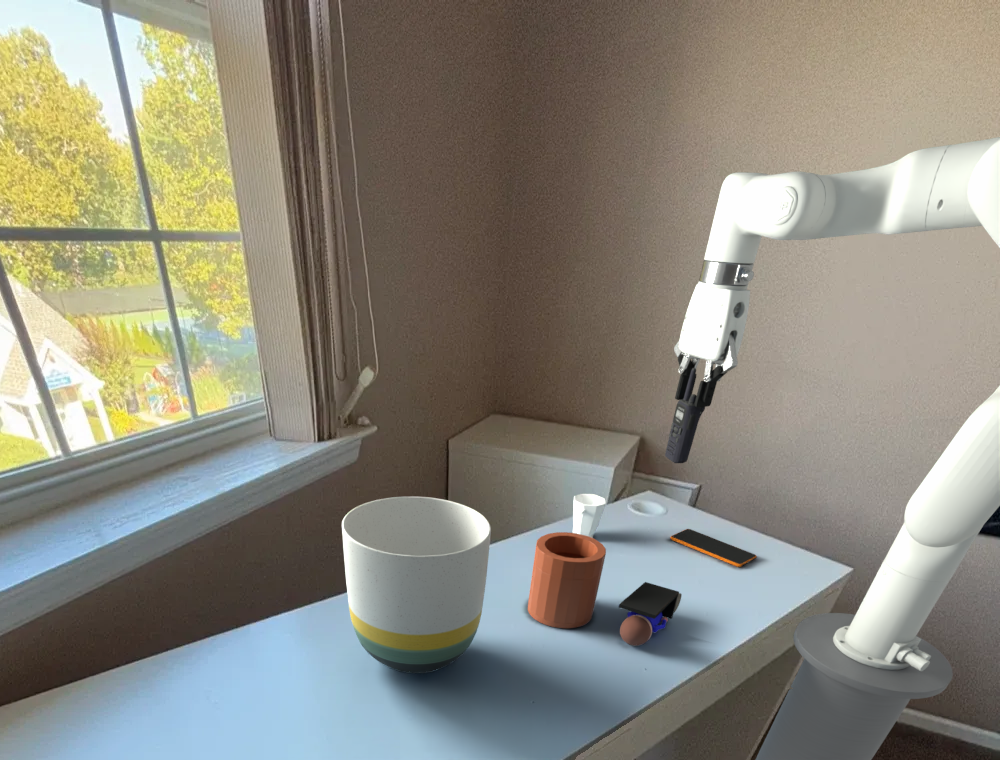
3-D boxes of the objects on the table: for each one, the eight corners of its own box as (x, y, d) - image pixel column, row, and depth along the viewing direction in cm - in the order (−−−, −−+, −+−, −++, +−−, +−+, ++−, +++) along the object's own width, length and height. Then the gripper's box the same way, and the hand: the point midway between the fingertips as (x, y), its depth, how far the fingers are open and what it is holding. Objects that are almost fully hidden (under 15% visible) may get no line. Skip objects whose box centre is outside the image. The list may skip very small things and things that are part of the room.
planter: (431, 715, 87) (436, 572, 73) (323, 665, 94) (309, 527, 80) (502, 652, 100) (517, 520, 86) (402, 612, 107) (402, 486, 93)
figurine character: (638, 614, 114) (607, 641, 103) (650, 574, 110) (619, 598, 99) (674, 626, 111) (646, 656, 100) (687, 586, 107) (660, 612, 96)
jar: (604, 621, 109) (619, 555, 101) (549, 633, 104) (561, 566, 97) (568, 591, 116) (579, 528, 108) (515, 602, 112) (523, 537, 104)
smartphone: (739, 568, 127) (740, 564, 127) (668, 540, 136) (669, 536, 136) (757, 558, 131) (758, 554, 131) (687, 531, 140) (688, 527, 140)
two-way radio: (661, 455, 119) (682, 365, 110) (683, 455, 120) (706, 366, 110) (673, 465, 115) (696, 372, 105) (696, 465, 116) (721, 373, 106)
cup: (603, 535, 136) (611, 498, 131) (587, 551, 130) (594, 513, 124) (573, 527, 139) (580, 490, 134) (555, 543, 132) (561, 505, 127)
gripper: (783, 283, 95) (743, 413, 107) (705, 270, 107) (676, 390, 118) (746, 282, 93) (709, 416, 104) (671, 270, 104) (645, 392, 116)
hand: (692, 401), depth 111 cm, fingers closed on two-way radio, 4 cm apart
